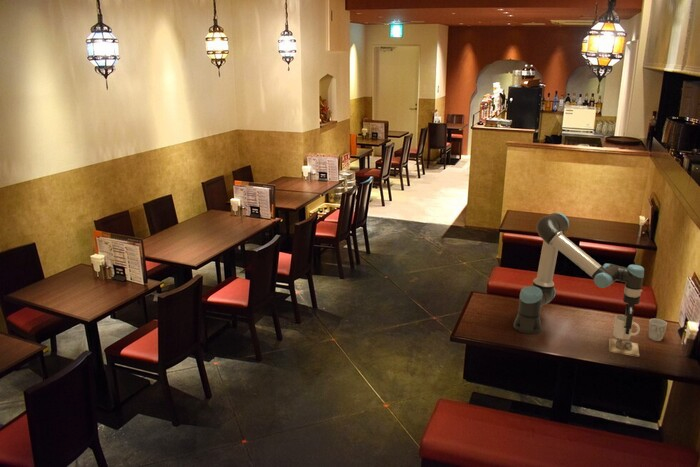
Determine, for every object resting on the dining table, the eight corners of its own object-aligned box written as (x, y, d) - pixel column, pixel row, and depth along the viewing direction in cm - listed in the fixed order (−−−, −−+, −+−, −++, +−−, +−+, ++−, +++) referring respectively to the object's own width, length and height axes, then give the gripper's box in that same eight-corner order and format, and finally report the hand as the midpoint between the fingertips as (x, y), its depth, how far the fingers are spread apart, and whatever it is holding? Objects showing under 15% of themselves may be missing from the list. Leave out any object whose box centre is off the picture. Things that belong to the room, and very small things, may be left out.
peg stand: (609, 351, 290) (609, 345, 289) (608, 340, 302) (609, 334, 301) (639, 357, 285) (640, 350, 284) (637, 345, 297) (638, 339, 296)
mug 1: (638, 336, 292) (641, 318, 289) (637, 342, 285) (640, 324, 282) (613, 331, 298) (616, 313, 295) (612, 337, 291) (614, 319, 288)
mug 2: (651, 331, 312) (654, 315, 309) (668, 336, 306) (671, 320, 304) (644, 338, 305) (647, 321, 302) (661, 343, 299) (664, 326, 296)
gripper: (641, 303, 274) (634, 345, 280) (639, 289, 293) (632, 328, 299) (624, 301, 277) (618, 342, 283) (623, 286, 295) (617, 326, 302)
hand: (625, 335), depth 291 cm, fingers closed on mug 1, 8 cm apart
